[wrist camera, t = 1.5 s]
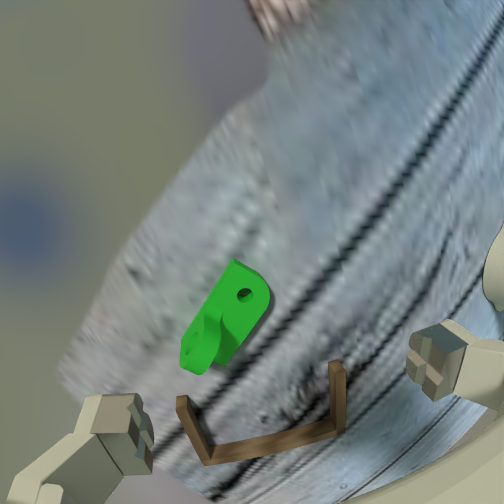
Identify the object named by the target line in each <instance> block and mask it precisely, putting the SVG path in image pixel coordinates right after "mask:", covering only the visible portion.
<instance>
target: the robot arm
mask: <svg viewBox="0 0 504 504" xmlns="http://www.w3.org/2000/svg"><path fill="white" fill-rule="evenodd" d="M483 288H484V293H485V295H486V297H487V299H488V300H490V301H491V302H493V303H494V306H495V309H496V310H497V311H499V312H502V311H503V310H504V223H503V226H502V229H501V231H500V232H499V234H498V235H497V237H496V238H495V240H494V242H493V244H492V246H491V248H490V250H489V253H488V256H487V259H486V263H485V267H484V274H483ZM409 346H410V348H411V350H410V352H409V354H408V355H407V358H406V369H407V373H408V375H409V377H410V378H411V379H412V380H413V381H414V382H415V383H418V384H421V385H422V391H423V392H424V393H425V394H426V395H427V396H428V397H429V398H430V399H431V400H432V401H433V402H434V401H437V400H439V399H441V398H443V397H445V396H447V395H449V394H451V393H453V394H455V395H458V396H460V397H463V398H465V399H468V400H470V401H473V402H475V403H478V404H481V405H483V406H486V407H489V408H491V409H494V410H497V411H498V413H497V415H496V417H495V419H494V422H493V423H492V424H491V425H490V426H488V427H487V428H485V429H484V430H483V431H481V432H480V433H478V434H477V435H475V436H474V437H472V438H471V439H469V440H468V441H466V442H465V443H463V444H462V445H460V446H459V447H457V448H455V449H454V450H452V451H450V452H449V453H447V454H445V455H443V456H442V457H440V458H438V459H436V460H435V461H433V462H431V463H429V464H427V465H425V466H424V467H422V468H420V469H418V470H416V471H414V472H412V473H410V474H408V475H406V476H404V477H402V478H399V479H397V480H395V481H393V482H391V483H389V484H386V485H384V486H382V487H379V488H377V489H375V490H372V491H370V492H367V493H365V494H362V495H359V496H357V497H354V498H351V499H349V500H346V501H343V502H340V503H337V504H504V341H498V340H493V339H487V338H481V339H479V338H478V337H476V336H475V335H473V334H472V333H470V332H469V331H467V330H466V329H464V328H463V327H462V326H460V325H459V324H457V323H456V322H454V321H453V320H450V319H446V320H444V321H441V322H439V323H437V324H435V325H433V326H430V327H427V328H425V329H422V330H419V331H417V332H414V333H412V335H411V336H410V339H409ZM153 445H154V432H153V426H152V423H151V420H150V417H149V415H148V414H147V413H145V412H144V411H143V401H142V399H141V397H140V395H139V394H138V393H125V394H105V395H89V396H87V397H86V399H85V401H84V404H83V407H82V410H81V413H80V415H79V418H78V421H77V424H76V427H75V430H74V433H73V434H68V435H66V436H65V437H64V438H63V439H61V440H60V441H59V442H58V443H56V444H55V445H54V446H53V447H52V448H50V449H49V450H48V451H46V452H45V453H44V454H43V455H41V456H40V457H39V458H38V459H36V460H35V461H34V462H33V463H31V464H30V465H29V466H28V467H27V468H25V469H24V470H23V471H21V472H20V473H19V474H17V475H16V476H15V479H14V481H13V484H12V487H11V489H10V492H9V495H8V498H7V501H6V504H104V503H105V501H106V500H107V499H108V497H109V496H110V495H111V493H112V492H113V491H114V490H115V488H116V487H117V486H118V484H119V483H120V482H121V480H122V479H123V478H124V476H127V475H148V474H149V475H150V474H152V467H153V455H152V454H151V452H150V448H151V447H152V446H153Z"/></svg>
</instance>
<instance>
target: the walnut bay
mask: <svg viewBox="0 0 504 504" xmlns="http://www.w3.org/2000/svg"><path fill="white" fill-rule="evenodd" d="M328 372H329V393H330V418H328V419H325V420H322V421H319V422H315V423H312V424H308V425H305V426H301V427H298V428H294V429H290V430H287V431H283V432H279V433H275V434H270V435H266V436H262V437H257V438H253V439H248V440H243V441H238V442H232V443H227V444H221V445H215V446H209V444H208V442H207V440H206V438H205V435H204V433H203V431H202V429H201V427H200V424H199V422H198V420H197V418H196V415H195V413H194V411H193V408H192V406H191V404H190V401H189V399H188V396H187V395H183V396H177V398H176V413H177V415H178V417H179V419H180V421H181V423H182V425H183V427H184V429H185V431H186V433H187V435H188V437H189V439H190V441H191V443H192V445H193V447H194V449H195V451H196V453H197V454H198V456H199V458H200V460H201V462H202V464H203V465H204V466H209V465H216V464H223V463H229V462H234V461H240V460H245V459H250V458H255V457H260V456H264V455H269V454H273V453H277V452H281V451H285V450H289V449H293V448H297V447H300V446H304V445H308V444H311V443H314V442H318V441H321V440H324V439H327V438H330V437H333V436H337V435H339V434H342V433H345V425H346V371H345V369H344V368H343V366H342V365H341V363H340V362H339V360H338V359H337V360H334V361H331V362H328Z"/></svg>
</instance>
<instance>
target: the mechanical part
mask: <svg viewBox="0 0 504 504" xmlns="http://www.w3.org/2000/svg"><path fill="white" fill-rule="evenodd" d="M243 288H248V289H250V290H251V291H250V293H249V294H248V295H247V296H239V295H237V293H238V291H239V290H241V289H243ZM269 300H270V292H269V289H268V286H267V284H266V282H265V280H264V279H263V277H262V276H261V275H260V274H259V273H258V272H256V271H255V270H253V269H251V268H249V267H248V266H246V265H244V264H242V263H241V262H239V261H237V260H235V259H234V258H233V259H232V261H231V262H230V264H229V265H228V267H227V268H226V270H225V271H224V273H223V275H222V276H221V278H220V279H219V281H218V282H217V284H216V285H215V287H214V289H213V290H212V292H211V293H210V295H209V296H208V298H207V300H206V301H205V303H204V304H203V306H202V307H201V309H200V311H199V312H198V314H197V315H196V317H195V318H194V320H193V322H192V323H191V325H190V326H189V328H188V329H187V331H186V333H185V334H184V336H183V337H182V340H181V352H180V367H181V368H183V369H185V370H188V371H190V372H192V373H194V374H197V375H202V374H203V373H204V372H205V371H206V370H207V369H208V368H209V366H210V365H211V363H212V361H213V362H215V363H217V364H220V365H222V366H224V367H225V365H226V364H227V363H228V361H229V360H230V359H231V357H232V356H233V354H234V353H235V352H236V350H237V349H238V348H239V346H240V345H241V344H242V342H243V341H244V339H245V338H246V337H247V335H248V334H249V332H250V331H251V330H252V328H253V327H254V325H255V324H256V323H257V321H258V320H259V318H260V317H261V316H262V314H263V313H264V311H265V310H266V308H267V306H268V304H269Z"/></svg>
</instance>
